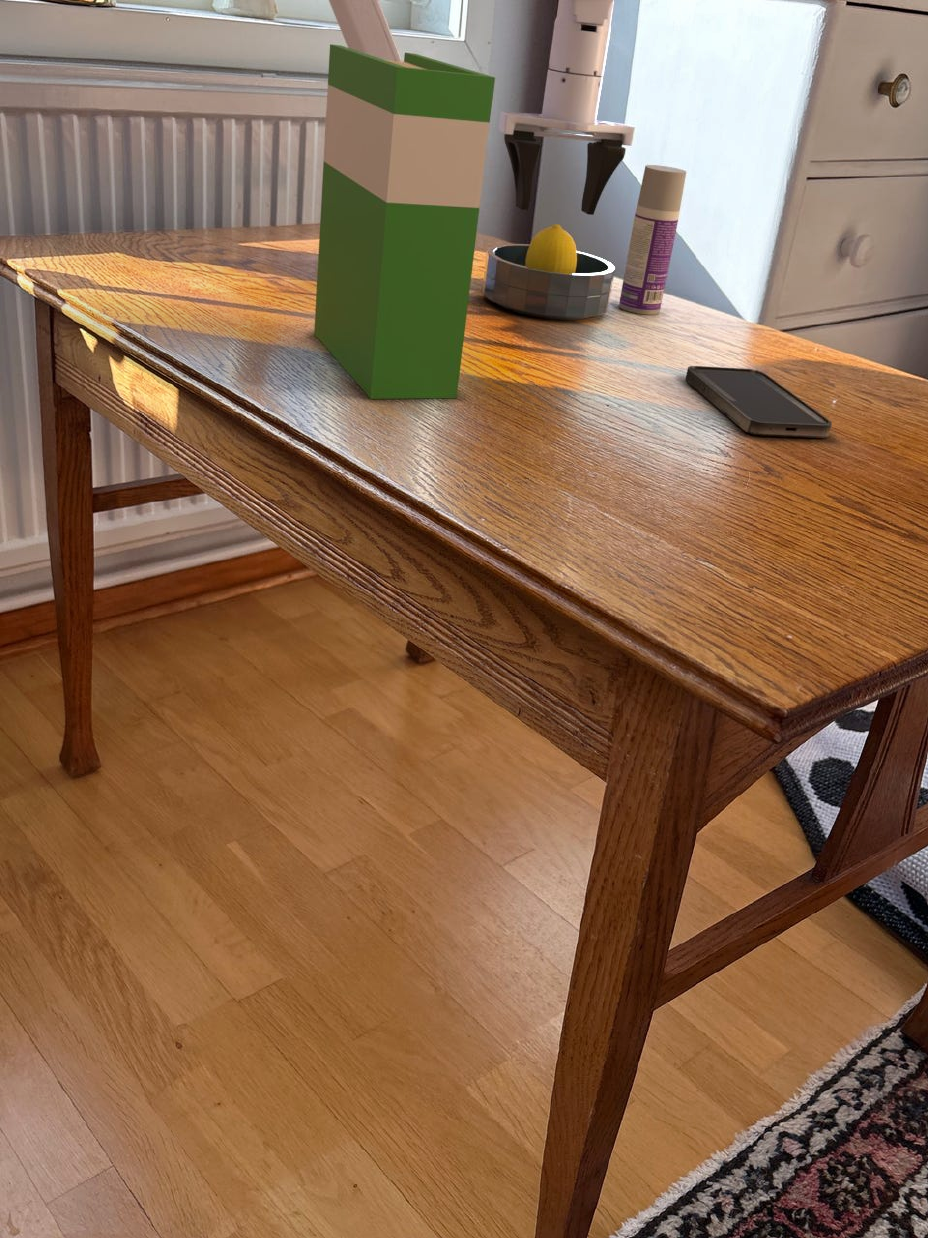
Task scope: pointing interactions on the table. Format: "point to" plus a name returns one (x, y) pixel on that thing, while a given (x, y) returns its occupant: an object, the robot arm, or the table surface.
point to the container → (652, 239)
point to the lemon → (552, 251)
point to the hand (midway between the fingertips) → (554, 210)
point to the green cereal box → (400, 219)
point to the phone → (757, 402)
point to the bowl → (547, 285)
